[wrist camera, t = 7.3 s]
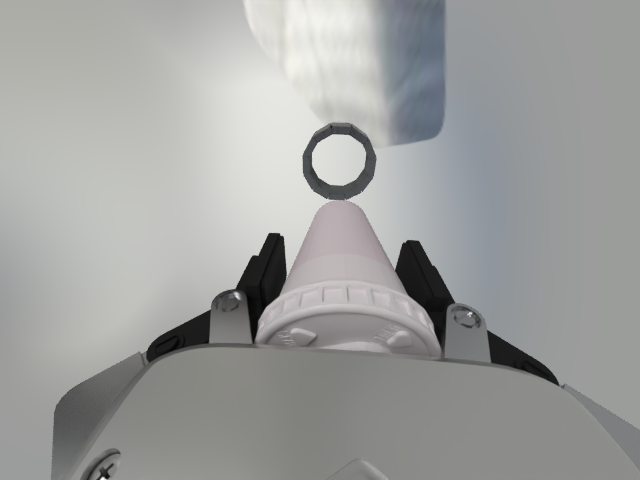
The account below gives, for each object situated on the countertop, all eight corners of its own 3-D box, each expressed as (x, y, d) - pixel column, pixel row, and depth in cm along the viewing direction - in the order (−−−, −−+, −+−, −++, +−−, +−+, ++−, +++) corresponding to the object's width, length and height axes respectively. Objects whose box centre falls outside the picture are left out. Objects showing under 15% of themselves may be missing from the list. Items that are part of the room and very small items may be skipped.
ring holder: (305, 121, 27) (302, 125, 25) (377, 124, 27) (381, 127, 25) (306, 189, 32) (303, 198, 30) (367, 192, 32) (369, 201, 29)
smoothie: (376, 265, 17) (456, 617, 6) (293, 257, 18) (208, 591, 6) (398, 184, 14) (719, 680, 2) (294, 174, 14) (83, 612, 2)
